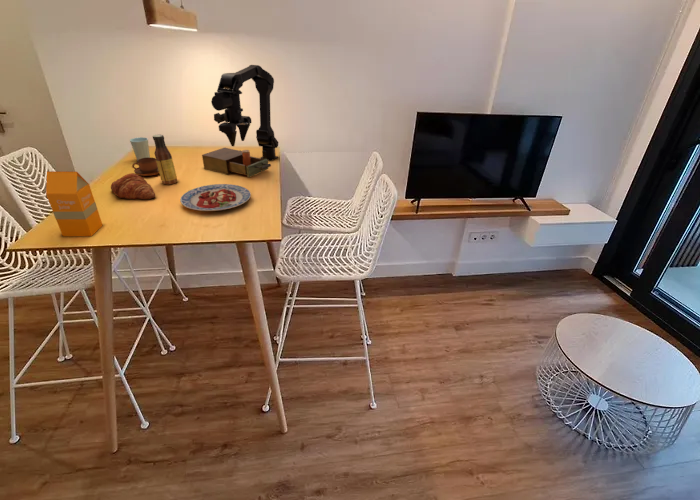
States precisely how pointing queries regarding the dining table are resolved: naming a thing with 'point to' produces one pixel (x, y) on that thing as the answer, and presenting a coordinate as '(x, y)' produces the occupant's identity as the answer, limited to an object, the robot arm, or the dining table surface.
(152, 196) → the pastry
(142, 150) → the cup
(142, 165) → the cup and saucer
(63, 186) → the orange juice
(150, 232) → the dining table surface
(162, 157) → the sauce bottle
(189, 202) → the ceramic plate
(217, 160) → the cabinet
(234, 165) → the drawer
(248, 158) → the spice jar
